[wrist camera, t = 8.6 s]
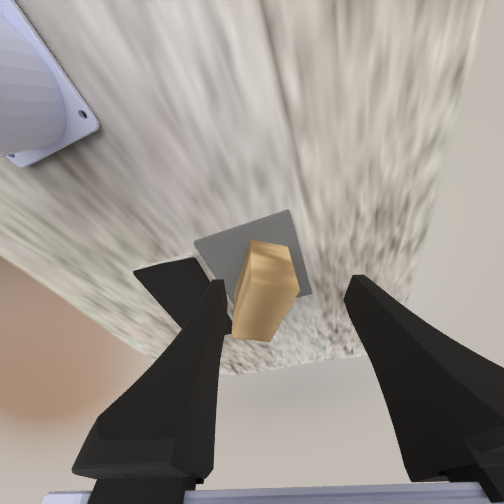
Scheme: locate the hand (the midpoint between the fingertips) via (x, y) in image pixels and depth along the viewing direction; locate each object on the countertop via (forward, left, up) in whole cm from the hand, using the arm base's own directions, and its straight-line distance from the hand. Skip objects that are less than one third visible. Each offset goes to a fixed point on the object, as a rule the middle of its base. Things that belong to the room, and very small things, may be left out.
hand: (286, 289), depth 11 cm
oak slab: (+6, -3, -9) cm, 11 cm away
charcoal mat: (+6, -3, -9) cm, 12 cm away
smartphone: (+8, -13, -10) cm, 19 cm away
